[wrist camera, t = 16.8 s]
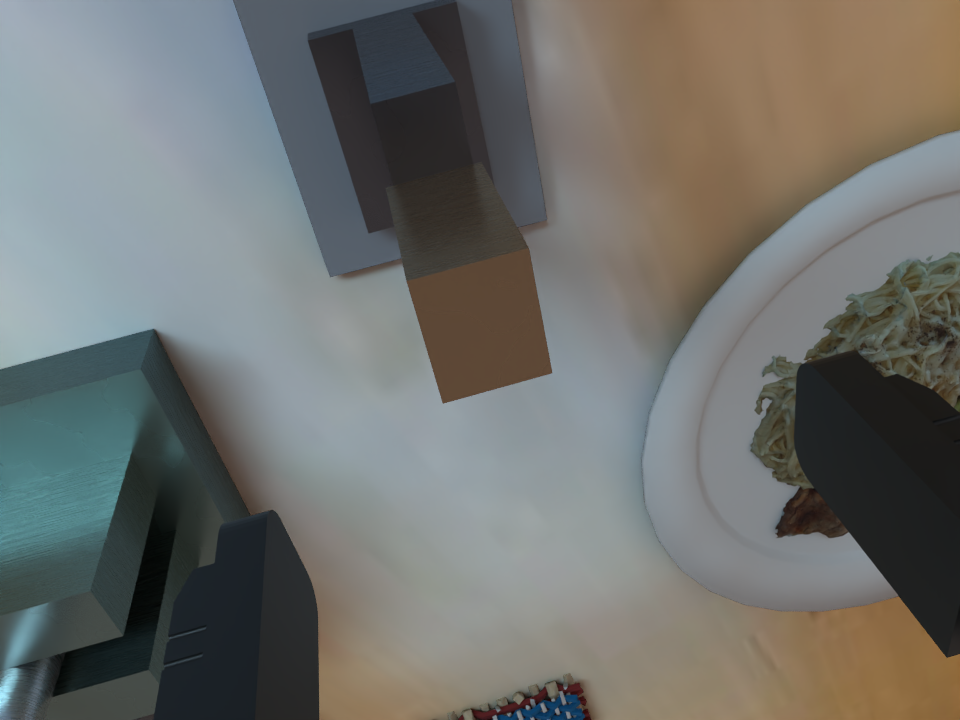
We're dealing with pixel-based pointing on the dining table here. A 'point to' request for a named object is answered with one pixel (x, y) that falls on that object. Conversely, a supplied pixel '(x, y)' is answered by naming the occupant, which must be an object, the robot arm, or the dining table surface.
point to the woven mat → (536, 705)
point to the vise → (99, 526)
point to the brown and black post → (435, 191)
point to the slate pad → (313, 138)
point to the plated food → (772, 380)
